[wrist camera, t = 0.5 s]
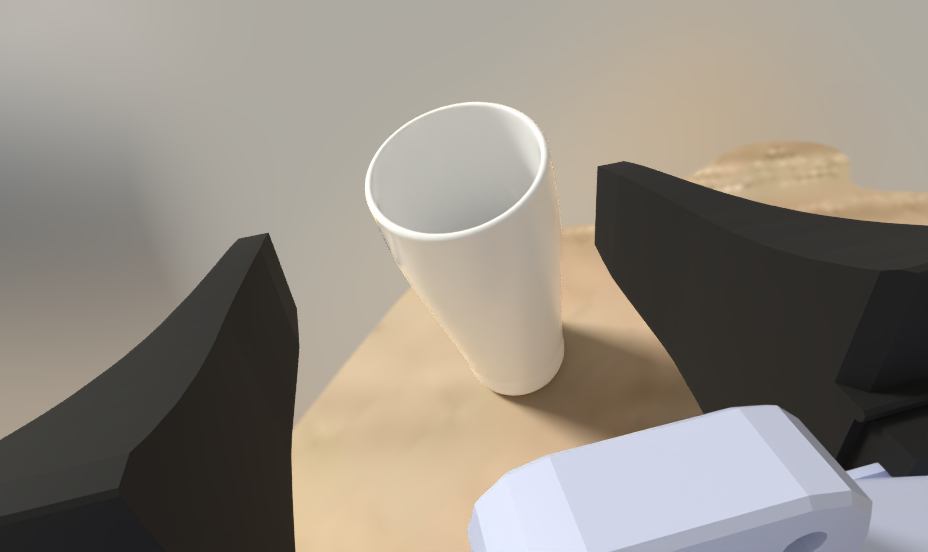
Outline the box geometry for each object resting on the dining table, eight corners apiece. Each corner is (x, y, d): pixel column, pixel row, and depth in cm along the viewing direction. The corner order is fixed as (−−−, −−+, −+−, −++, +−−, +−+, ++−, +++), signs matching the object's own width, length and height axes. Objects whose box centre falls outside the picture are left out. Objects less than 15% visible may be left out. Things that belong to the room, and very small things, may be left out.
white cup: (537, 283, 34) (491, 73, 22) (604, 370, 30) (592, 172, 18) (439, 340, 33) (336, 156, 21) (494, 436, 29) (405, 277, 17)
